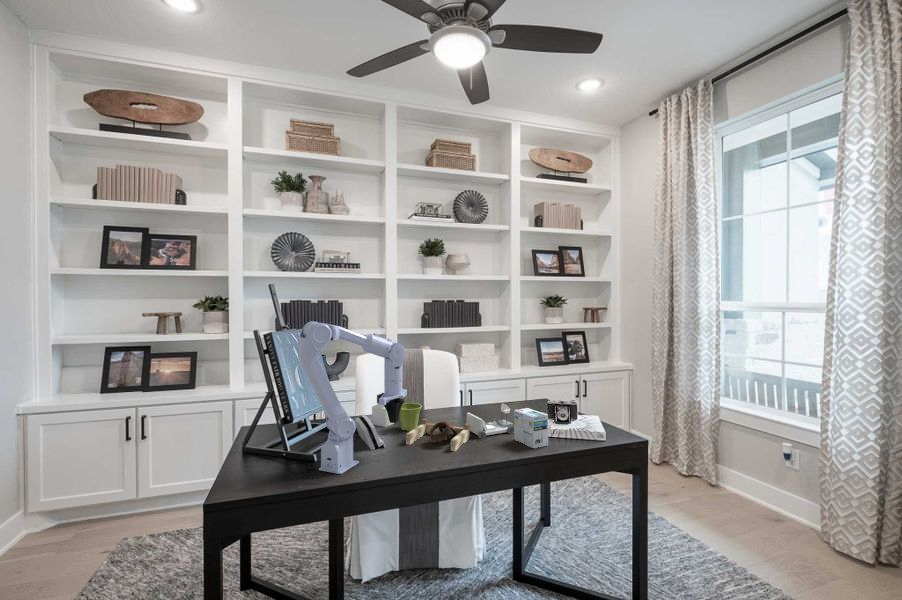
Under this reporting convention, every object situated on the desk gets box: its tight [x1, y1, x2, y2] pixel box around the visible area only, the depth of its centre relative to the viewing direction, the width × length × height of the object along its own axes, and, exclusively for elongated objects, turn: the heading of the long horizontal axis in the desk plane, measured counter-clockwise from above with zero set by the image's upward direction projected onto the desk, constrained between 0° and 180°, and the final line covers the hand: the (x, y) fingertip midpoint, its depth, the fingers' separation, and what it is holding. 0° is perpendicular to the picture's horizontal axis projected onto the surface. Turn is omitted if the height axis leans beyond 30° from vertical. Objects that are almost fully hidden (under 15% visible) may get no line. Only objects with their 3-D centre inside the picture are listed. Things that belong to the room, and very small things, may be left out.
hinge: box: [353, 414, 387, 451], centre depth 155 cm, size 17×5×10 cm, turn 25°
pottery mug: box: [429, 420, 457, 444], centre depth 156 cm, size 12×10×8 cm
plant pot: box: [399, 402, 423, 432], centre depth 170 cm, size 9×9×9 cm
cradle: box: [405, 418, 471, 452], centre depth 156 cm, size 14×18×5 cm
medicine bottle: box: [371, 392, 396, 428], centre depth 177 cm, size 7×7×12 cm
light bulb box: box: [513, 407, 549, 449], centre depth 155 cm, size 11×7×11 cm, turn 31°
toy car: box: [462, 402, 514, 439], centre depth 168 cm, size 18×10×12 cm
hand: (393, 422), depth 143 cm, fingers closed
